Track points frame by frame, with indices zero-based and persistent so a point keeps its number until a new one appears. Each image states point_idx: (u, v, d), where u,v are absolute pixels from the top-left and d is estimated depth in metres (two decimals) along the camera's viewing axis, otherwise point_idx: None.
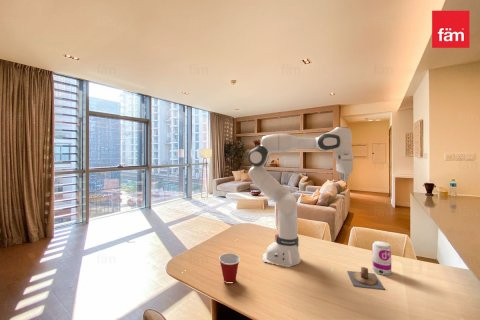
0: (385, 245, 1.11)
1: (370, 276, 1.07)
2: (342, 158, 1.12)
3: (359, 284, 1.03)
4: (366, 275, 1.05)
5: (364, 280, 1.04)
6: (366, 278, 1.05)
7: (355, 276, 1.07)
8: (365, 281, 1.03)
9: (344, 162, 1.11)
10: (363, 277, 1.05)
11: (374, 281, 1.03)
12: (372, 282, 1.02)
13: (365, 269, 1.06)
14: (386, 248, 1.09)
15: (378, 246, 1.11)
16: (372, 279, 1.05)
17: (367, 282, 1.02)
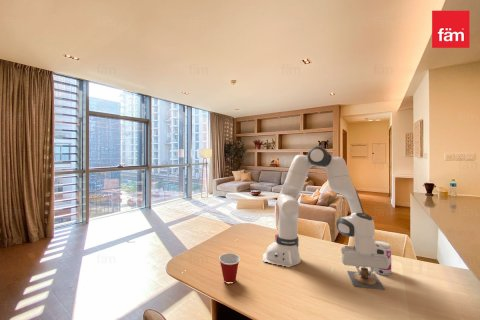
0: (385, 245, 1.11)
1: (370, 276, 1.07)
2: None
3: (359, 284, 1.03)
4: (366, 275, 1.05)
5: (364, 280, 1.04)
6: (366, 278, 1.05)
7: (355, 276, 1.07)
8: (366, 281, 1.03)
9: None
10: (363, 277, 1.05)
11: (374, 281, 1.03)
12: (372, 282, 1.02)
13: (365, 269, 1.06)
14: (386, 248, 1.09)
15: None
16: (372, 279, 1.05)
17: (367, 282, 1.02)
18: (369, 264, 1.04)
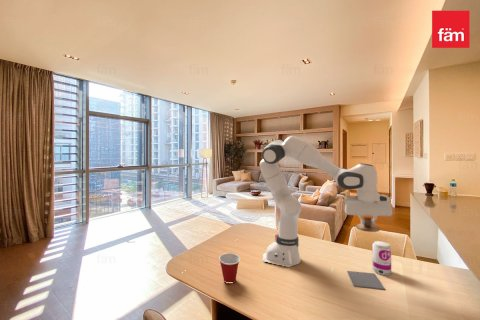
0: (385, 245, 1.11)
1: (373, 225, 1.08)
2: None
3: (359, 284, 1.03)
4: (369, 223, 1.05)
5: (367, 228, 1.04)
6: (369, 226, 1.05)
7: (358, 226, 1.08)
8: (369, 229, 1.03)
9: None
10: (366, 226, 1.06)
11: (377, 228, 1.03)
12: (375, 229, 1.03)
13: (368, 218, 1.06)
14: (386, 248, 1.09)
15: (378, 246, 1.11)
16: (375, 227, 1.05)
17: (370, 229, 1.03)
18: (372, 212, 1.04)
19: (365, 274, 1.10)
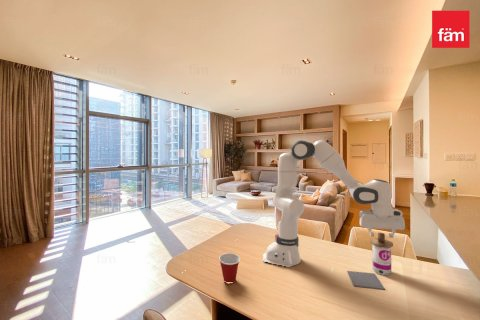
0: None
1: (386, 241, 1.14)
2: None
3: (359, 284, 1.03)
4: (383, 239, 1.12)
5: (381, 244, 1.11)
6: (383, 242, 1.12)
7: (372, 241, 1.14)
8: (383, 244, 1.10)
9: None
10: (380, 241, 1.12)
11: (391, 244, 1.10)
12: (389, 245, 1.09)
13: (382, 234, 1.12)
14: (386, 248, 1.09)
15: (378, 246, 1.11)
16: (389, 243, 1.11)
17: (384, 245, 1.09)
18: (386, 226, 1.11)
19: (365, 274, 1.10)
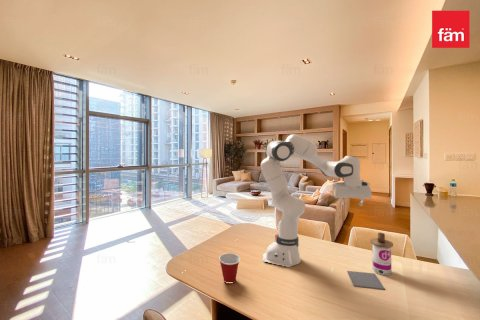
0: None
1: (386, 241, 1.14)
2: None
3: (359, 284, 1.03)
4: (383, 239, 1.12)
5: (381, 244, 1.11)
6: (383, 242, 1.12)
7: (372, 241, 1.14)
8: (383, 244, 1.10)
9: (370, 188, 1.27)
10: (380, 241, 1.12)
11: (391, 244, 1.10)
12: (389, 245, 1.09)
13: (382, 234, 1.12)
14: (386, 248, 1.09)
15: (378, 246, 1.11)
16: (389, 243, 1.11)
17: (384, 245, 1.09)
18: (356, 195, 1.28)
19: (365, 274, 1.10)
